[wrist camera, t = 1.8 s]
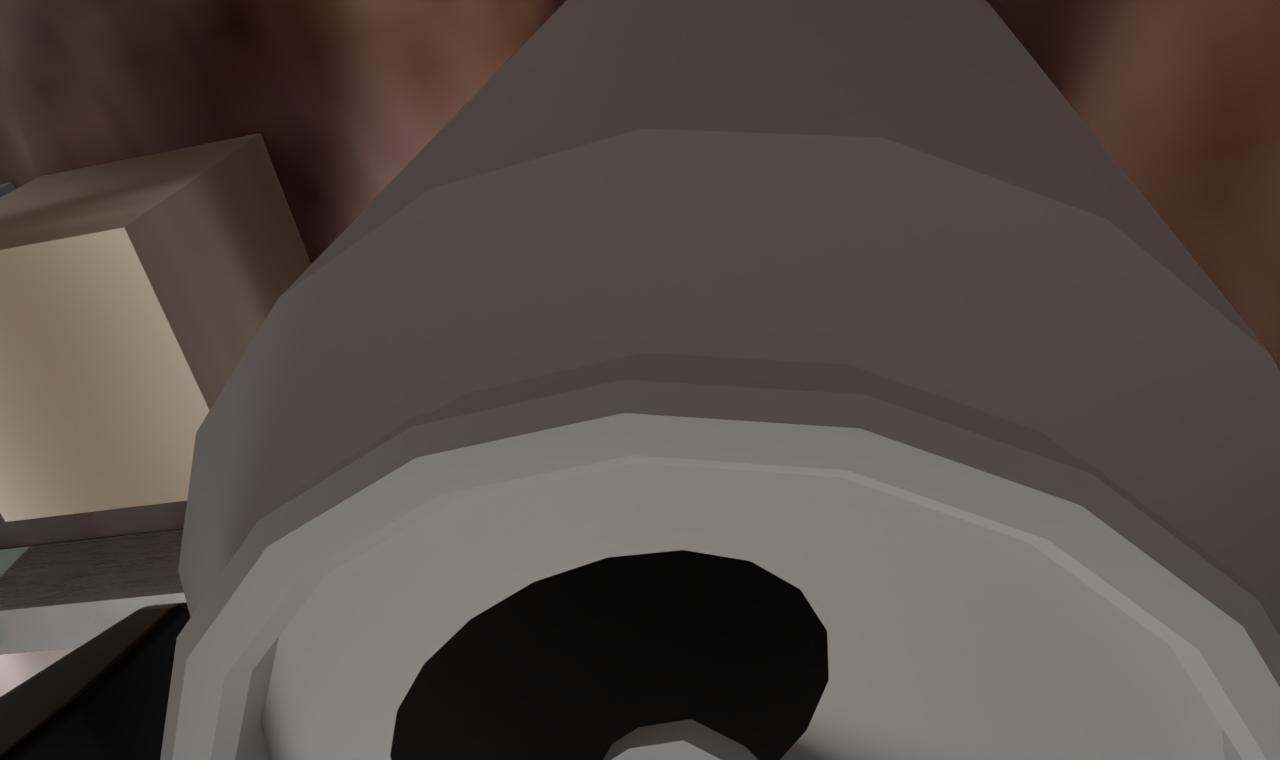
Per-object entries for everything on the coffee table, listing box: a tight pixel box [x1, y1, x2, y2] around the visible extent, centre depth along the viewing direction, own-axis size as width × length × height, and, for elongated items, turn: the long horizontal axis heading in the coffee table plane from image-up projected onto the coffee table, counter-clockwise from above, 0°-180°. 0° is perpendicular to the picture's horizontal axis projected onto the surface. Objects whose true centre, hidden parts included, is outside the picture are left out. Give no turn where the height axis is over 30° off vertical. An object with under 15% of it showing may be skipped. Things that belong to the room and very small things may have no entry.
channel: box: [0, 529, 186, 655], centre depth 16 cm, size 20×12×2 cm, turn 103°
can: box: [160, 0, 1280, 760], centre depth 11 cm, size 8×8×12 cm
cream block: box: [0, 133, 311, 522], centre depth 16 cm, size 4×4×4 cm
